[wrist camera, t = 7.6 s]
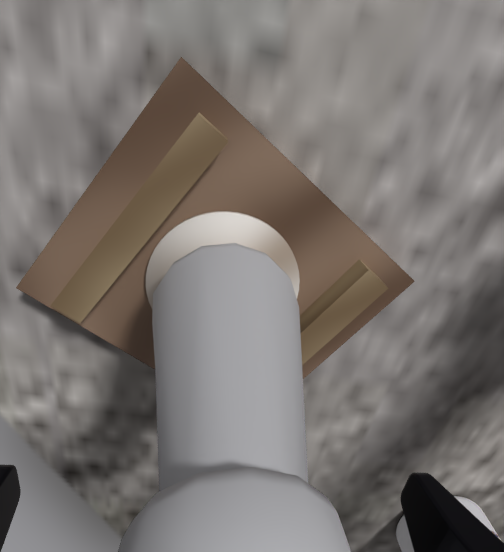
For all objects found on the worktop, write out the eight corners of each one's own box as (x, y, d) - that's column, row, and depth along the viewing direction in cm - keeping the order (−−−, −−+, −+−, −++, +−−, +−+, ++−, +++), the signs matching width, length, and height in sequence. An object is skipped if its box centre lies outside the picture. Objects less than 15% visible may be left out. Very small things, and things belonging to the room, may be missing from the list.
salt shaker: (241, 356, 19) (279, 779, 7) (137, 304, 17) (-35, 753, 5) (313, 267, 17) (519, 644, 5) (204, 199, 15) (158, 538, 4)
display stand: (401, 268, 19) (426, 293, 17) (248, 405, 23) (251, 443, 20) (184, 60, 15) (177, 53, 12) (31, 273, 18) (1, 301, 16)
